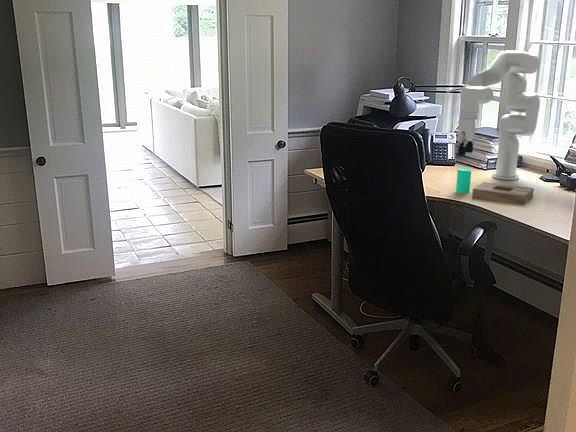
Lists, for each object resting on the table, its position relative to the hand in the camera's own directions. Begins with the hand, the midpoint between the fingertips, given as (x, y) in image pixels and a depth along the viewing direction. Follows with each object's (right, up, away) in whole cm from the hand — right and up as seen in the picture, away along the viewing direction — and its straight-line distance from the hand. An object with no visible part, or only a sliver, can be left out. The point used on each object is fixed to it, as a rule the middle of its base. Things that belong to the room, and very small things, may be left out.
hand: (465, 153), depth 275 cm
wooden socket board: (+15, -20, -4) cm, 25 cm away
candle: (0, -17, +5) cm, 18 cm away
